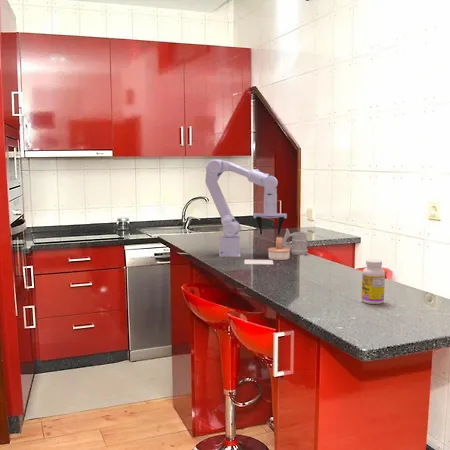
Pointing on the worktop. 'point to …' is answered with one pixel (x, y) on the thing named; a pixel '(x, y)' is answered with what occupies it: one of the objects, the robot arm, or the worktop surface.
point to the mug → (296, 242)
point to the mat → (258, 262)
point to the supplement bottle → (373, 282)
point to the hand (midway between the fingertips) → (269, 234)
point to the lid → (278, 247)
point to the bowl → (279, 256)
